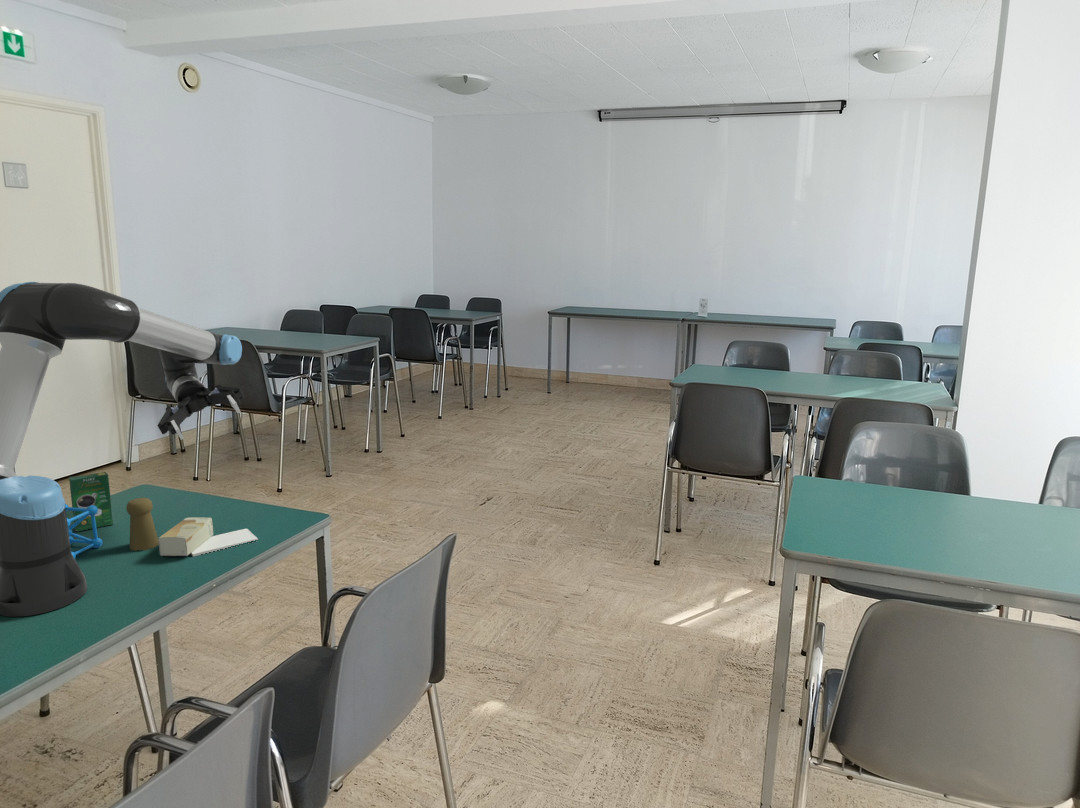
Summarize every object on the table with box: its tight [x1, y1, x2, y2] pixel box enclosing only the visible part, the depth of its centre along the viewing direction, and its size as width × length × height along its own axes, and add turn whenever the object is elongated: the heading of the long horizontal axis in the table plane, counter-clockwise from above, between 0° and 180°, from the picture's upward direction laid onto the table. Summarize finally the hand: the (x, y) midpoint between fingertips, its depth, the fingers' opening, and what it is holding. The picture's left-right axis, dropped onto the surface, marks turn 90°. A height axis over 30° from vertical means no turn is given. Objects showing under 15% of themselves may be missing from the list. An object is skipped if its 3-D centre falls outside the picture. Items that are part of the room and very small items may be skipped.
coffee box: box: [68, 471, 114, 533], centre depth 181 cm, size 8×3×13 cm, turn 129°
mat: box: [189, 528, 259, 558], centre depth 172 cm, size 14×8×1 cm, turn 128°
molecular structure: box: [65, 503, 104, 560], centre depth 166 cm, size 10×10×10 cm
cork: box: [126, 497, 159, 552], centre depth 170 cm, size 6×6×11 cm
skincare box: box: [158, 516, 214, 557], centre depth 169 cm, size 6×4×12 cm
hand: (209, 421), depth 176 cm, fingers open, 13 cm apart
